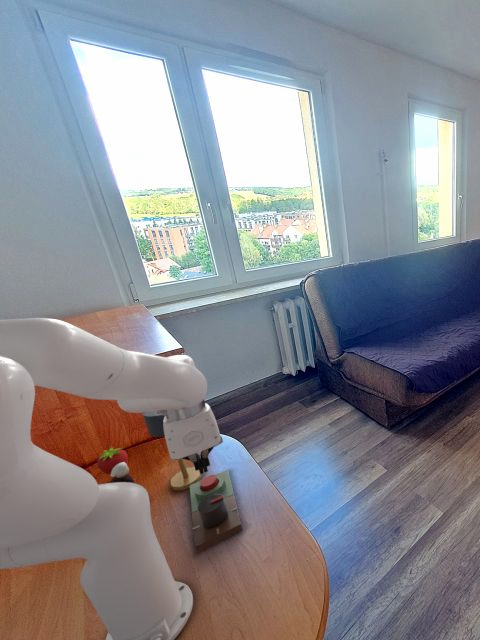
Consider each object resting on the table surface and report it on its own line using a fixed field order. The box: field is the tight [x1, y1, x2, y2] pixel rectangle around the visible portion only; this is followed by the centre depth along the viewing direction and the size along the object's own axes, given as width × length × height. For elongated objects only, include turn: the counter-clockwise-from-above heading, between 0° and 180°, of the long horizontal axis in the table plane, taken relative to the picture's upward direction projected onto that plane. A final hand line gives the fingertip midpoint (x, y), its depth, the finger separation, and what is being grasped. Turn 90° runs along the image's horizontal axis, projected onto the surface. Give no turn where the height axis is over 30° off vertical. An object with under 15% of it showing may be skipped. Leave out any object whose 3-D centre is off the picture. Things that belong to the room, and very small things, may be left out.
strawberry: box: [96, 445, 129, 476], centre depth 90 cm, size 6×8×10 cm
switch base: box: [189, 469, 236, 514], centre depth 86 cm, size 10×9×3 cm
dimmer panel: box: [190, 494, 244, 554], centre depth 78 cm, size 10×9×2 cm
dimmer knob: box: [198, 494, 228, 528], centre depth 77 cm, size 5×5×5 cm
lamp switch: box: [200, 474, 218, 491], centre depth 85 cm, size 4×4×2 cm
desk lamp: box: [141, 411, 203, 491], centre depth 86 cm, size 8×8×24 cm
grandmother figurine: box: [109, 462, 136, 483], centre depth 81 cm, size 8×4×13 cm, turn 84°
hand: (203, 469), depth 83 cm, fingers closed
